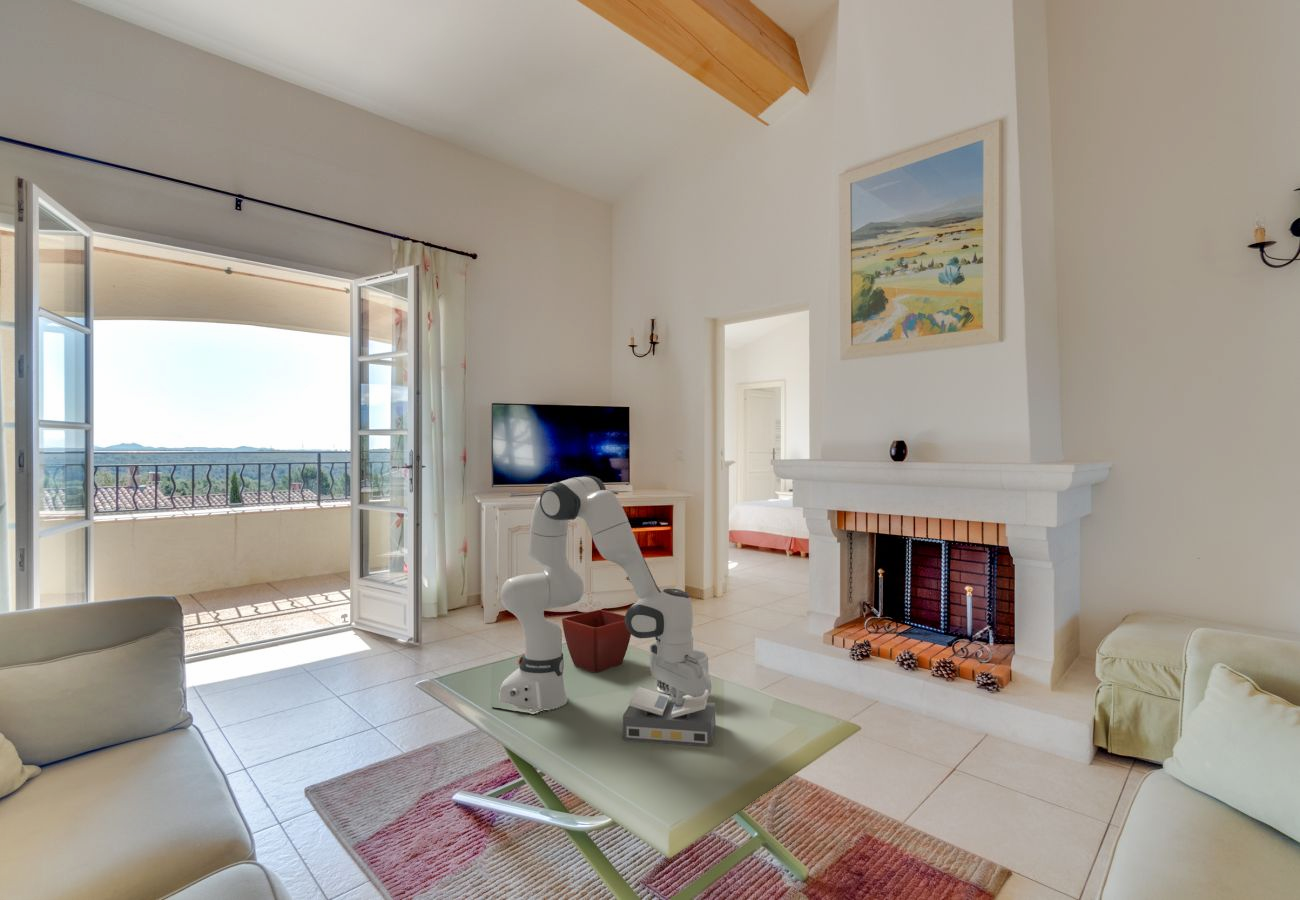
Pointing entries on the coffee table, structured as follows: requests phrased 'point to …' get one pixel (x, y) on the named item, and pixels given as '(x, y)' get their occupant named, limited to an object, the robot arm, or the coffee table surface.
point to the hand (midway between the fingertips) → (677, 703)
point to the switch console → (670, 726)
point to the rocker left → (649, 701)
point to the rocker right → (690, 705)
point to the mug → (703, 667)
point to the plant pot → (596, 639)
